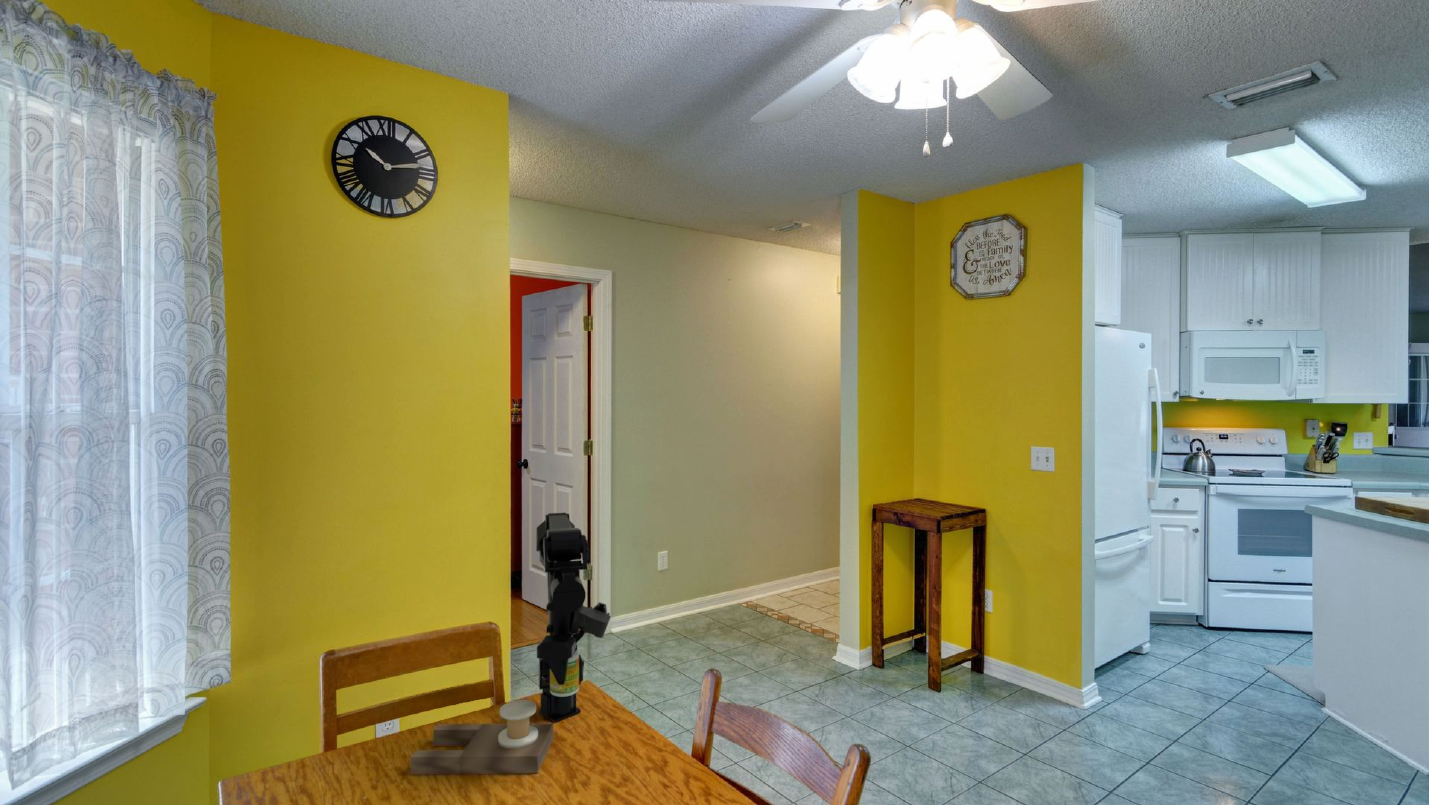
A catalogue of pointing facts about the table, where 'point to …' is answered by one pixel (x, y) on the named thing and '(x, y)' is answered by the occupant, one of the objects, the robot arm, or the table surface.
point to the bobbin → (518, 725)
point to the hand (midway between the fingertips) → (564, 678)
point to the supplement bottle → (567, 679)
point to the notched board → (480, 751)
